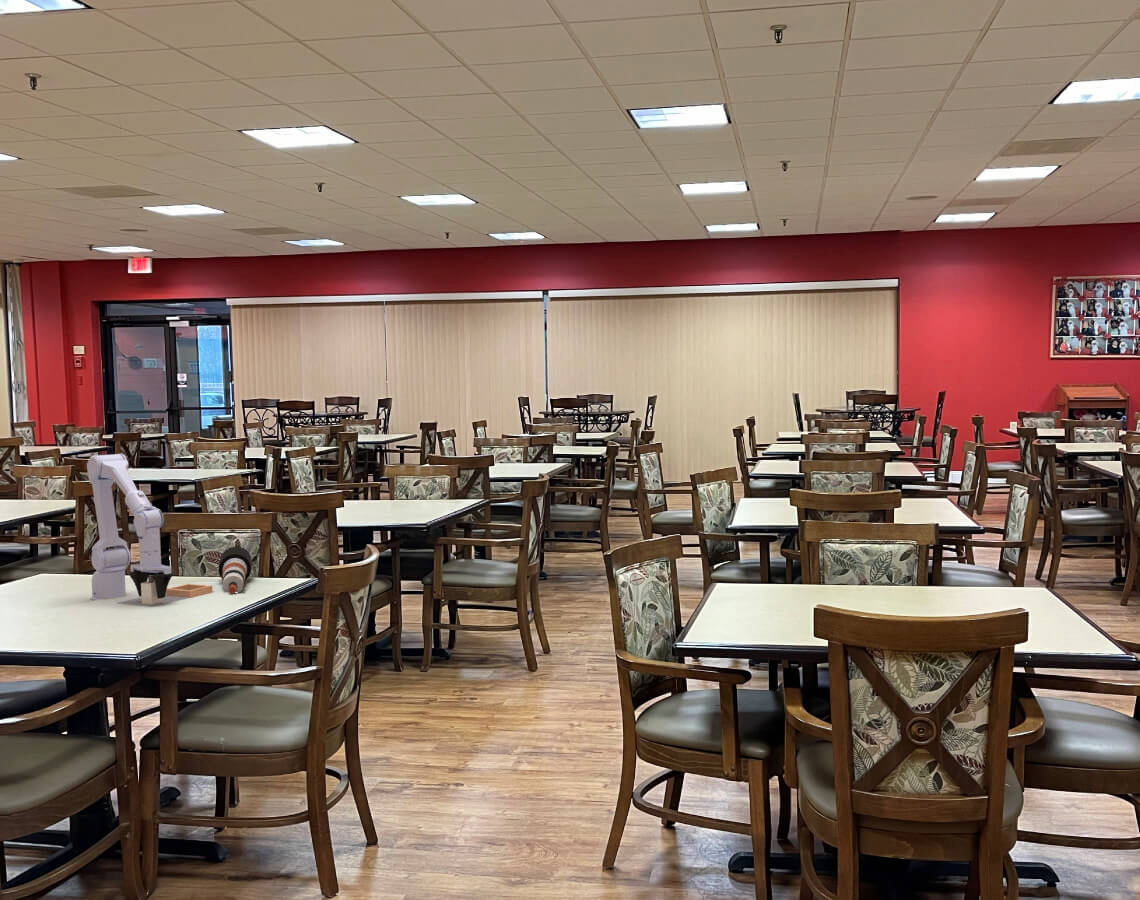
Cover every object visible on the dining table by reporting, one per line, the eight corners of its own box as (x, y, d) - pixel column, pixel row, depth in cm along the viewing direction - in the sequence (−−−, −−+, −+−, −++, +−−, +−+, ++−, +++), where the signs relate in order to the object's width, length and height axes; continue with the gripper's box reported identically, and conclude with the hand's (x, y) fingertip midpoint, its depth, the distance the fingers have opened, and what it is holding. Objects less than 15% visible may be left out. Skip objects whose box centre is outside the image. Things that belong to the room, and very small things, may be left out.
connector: (141, 603, 299) (140, 576, 299) (152, 600, 303) (151, 574, 302) (151, 604, 298) (150, 577, 297) (162, 601, 301) (161, 574, 301)
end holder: (165, 595, 311) (165, 588, 311) (188, 590, 319) (188, 583, 319) (189, 597, 306) (189, 591, 306) (212, 592, 315) (212, 585, 314)
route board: (115, 606, 301) (115, 603, 301) (179, 591, 322) (179, 588, 322) (152, 610, 294) (152, 606, 294) (215, 594, 315) (214, 591, 315)
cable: (225, 612, 311) (208, 584, 308) (229, 581, 343) (213, 556, 341) (256, 595, 313) (238, 567, 310) (257, 566, 345) (241, 541, 342)
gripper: (121, 551, 299) (123, 597, 300) (156, 554, 293) (158, 601, 293) (140, 548, 305) (142, 593, 306) (176, 550, 299) (178, 596, 300)
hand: (152, 597), depth 300 cm, fingers open, 7 cm apart
